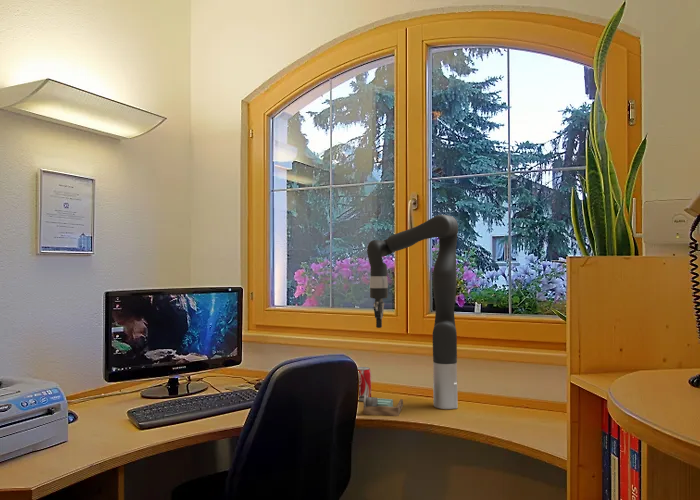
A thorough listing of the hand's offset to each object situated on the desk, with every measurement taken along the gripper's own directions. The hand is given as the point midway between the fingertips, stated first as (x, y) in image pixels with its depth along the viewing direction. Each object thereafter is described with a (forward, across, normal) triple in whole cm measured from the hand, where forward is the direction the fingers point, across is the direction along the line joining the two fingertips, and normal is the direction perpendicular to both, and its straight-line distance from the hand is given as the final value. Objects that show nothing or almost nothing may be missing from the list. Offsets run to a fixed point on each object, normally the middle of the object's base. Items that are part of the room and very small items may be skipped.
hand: (379, 327), depth 233 cm
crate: (+29, -23, -4) cm, 38 cm away
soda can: (+29, -7, +6) cm, 31 cm away
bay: (+29, -22, -4) cm, 37 cm away
